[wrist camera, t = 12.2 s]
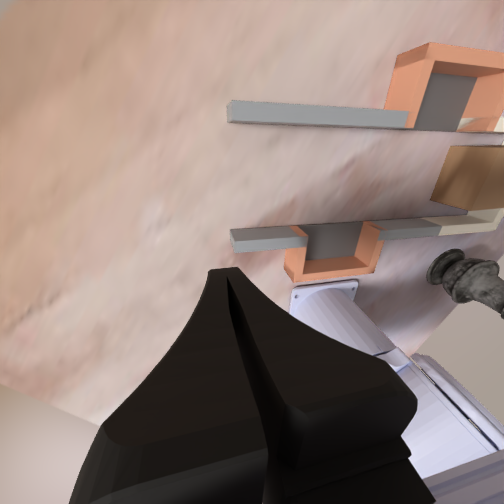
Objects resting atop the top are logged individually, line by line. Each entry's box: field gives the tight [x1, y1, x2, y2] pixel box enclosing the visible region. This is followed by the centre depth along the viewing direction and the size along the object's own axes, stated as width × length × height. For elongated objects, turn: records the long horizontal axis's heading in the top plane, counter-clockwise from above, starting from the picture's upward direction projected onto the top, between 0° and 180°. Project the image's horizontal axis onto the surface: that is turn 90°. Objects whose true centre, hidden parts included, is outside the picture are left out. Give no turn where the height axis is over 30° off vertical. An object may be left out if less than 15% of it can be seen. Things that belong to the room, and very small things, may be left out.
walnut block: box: [430, 145, 504, 211], centre depth 20 cm, size 5×6×4 cm
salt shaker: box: [426, 249, 504, 319], centre depth 23 cm, size 6×6×12 cm
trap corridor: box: [227, 42, 504, 283], centre depth 19 cm, size 17×28×2 cm, turn 89°
